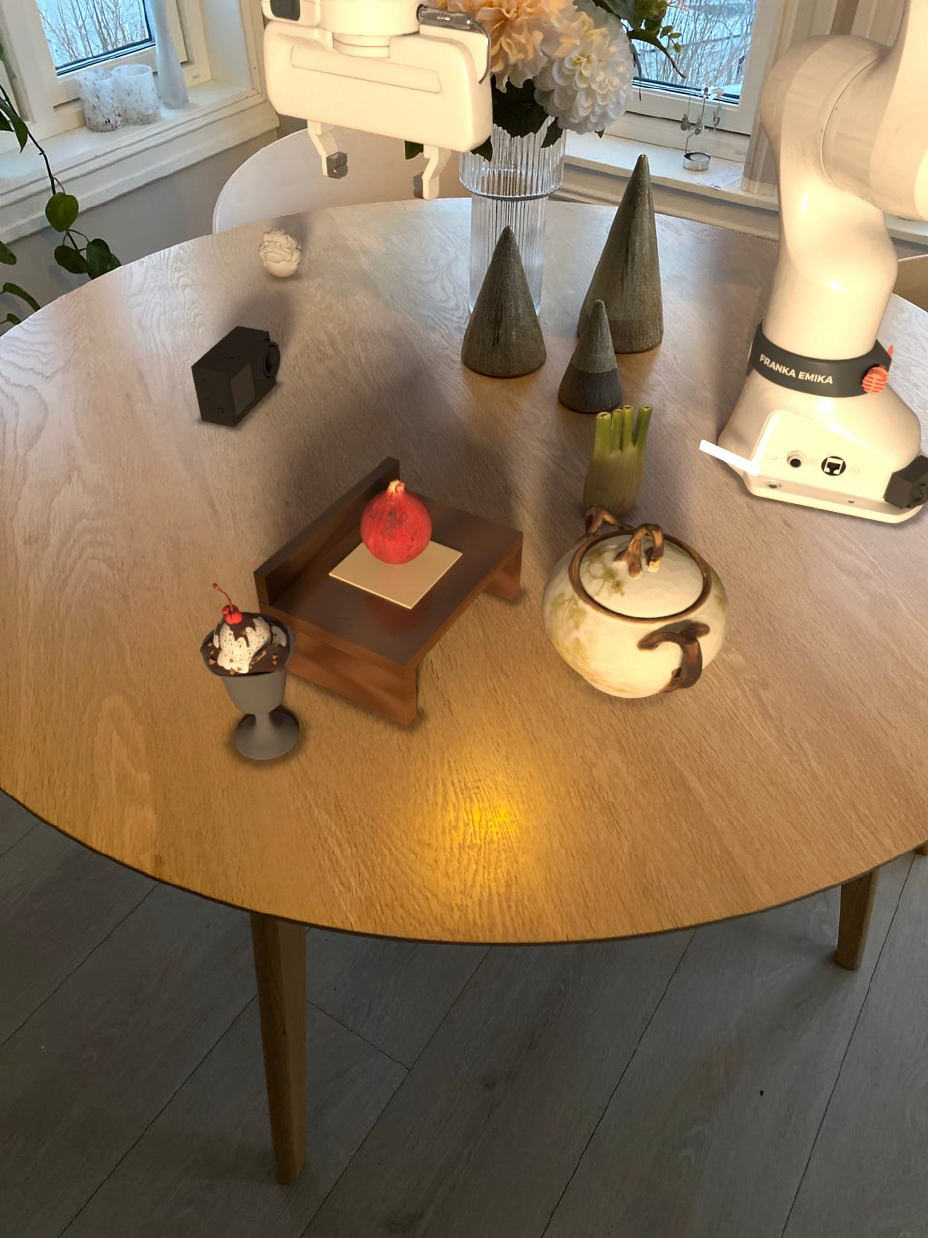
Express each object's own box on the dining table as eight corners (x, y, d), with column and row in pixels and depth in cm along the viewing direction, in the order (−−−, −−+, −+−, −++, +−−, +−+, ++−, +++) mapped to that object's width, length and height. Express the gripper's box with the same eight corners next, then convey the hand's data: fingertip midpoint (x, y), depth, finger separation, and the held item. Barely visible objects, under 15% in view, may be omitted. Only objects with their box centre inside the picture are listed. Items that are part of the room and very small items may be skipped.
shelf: (519, 592, 88) (526, 503, 81) (407, 727, 76) (403, 637, 69) (392, 542, 93) (388, 455, 86) (268, 661, 81) (252, 571, 74)
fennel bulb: (636, 500, 99) (654, 397, 91) (638, 529, 95) (656, 424, 87) (580, 496, 99) (592, 393, 91) (579, 525, 96) (592, 420, 87)
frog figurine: (255, 285, 135) (248, 235, 130) (270, 264, 140) (264, 216, 135) (296, 288, 134) (291, 239, 130) (310, 268, 139) (306, 219, 135)
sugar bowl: (761, 729, 76) (810, 588, 66) (588, 773, 73) (612, 631, 63) (653, 575, 90) (680, 438, 80) (503, 606, 87) (511, 467, 77)
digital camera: (244, 430, 107) (234, 374, 103) (201, 421, 109) (190, 365, 104) (285, 386, 115) (279, 331, 110) (245, 378, 116) (236, 324, 111)
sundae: (226, 706, 77) (193, 564, 67) (310, 702, 78) (290, 560, 68) (218, 771, 73) (181, 629, 62) (307, 766, 73) (285, 624, 63)
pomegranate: (423, 590, 77) (421, 509, 72) (354, 579, 78) (347, 499, 73) (439, 545, 81) (438, 467, 76) (373, 536, 82) (368, 458, 77)
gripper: (511, 7, 71) (503, 199, 81) (292, -24, 79) (308, 155, 88) (468, 23, 67) (465, 223, 77) (242, -11, 75) (264, 174, 84)
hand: (380, 186), depth 82 cm, fingers open, 8 cm apart
